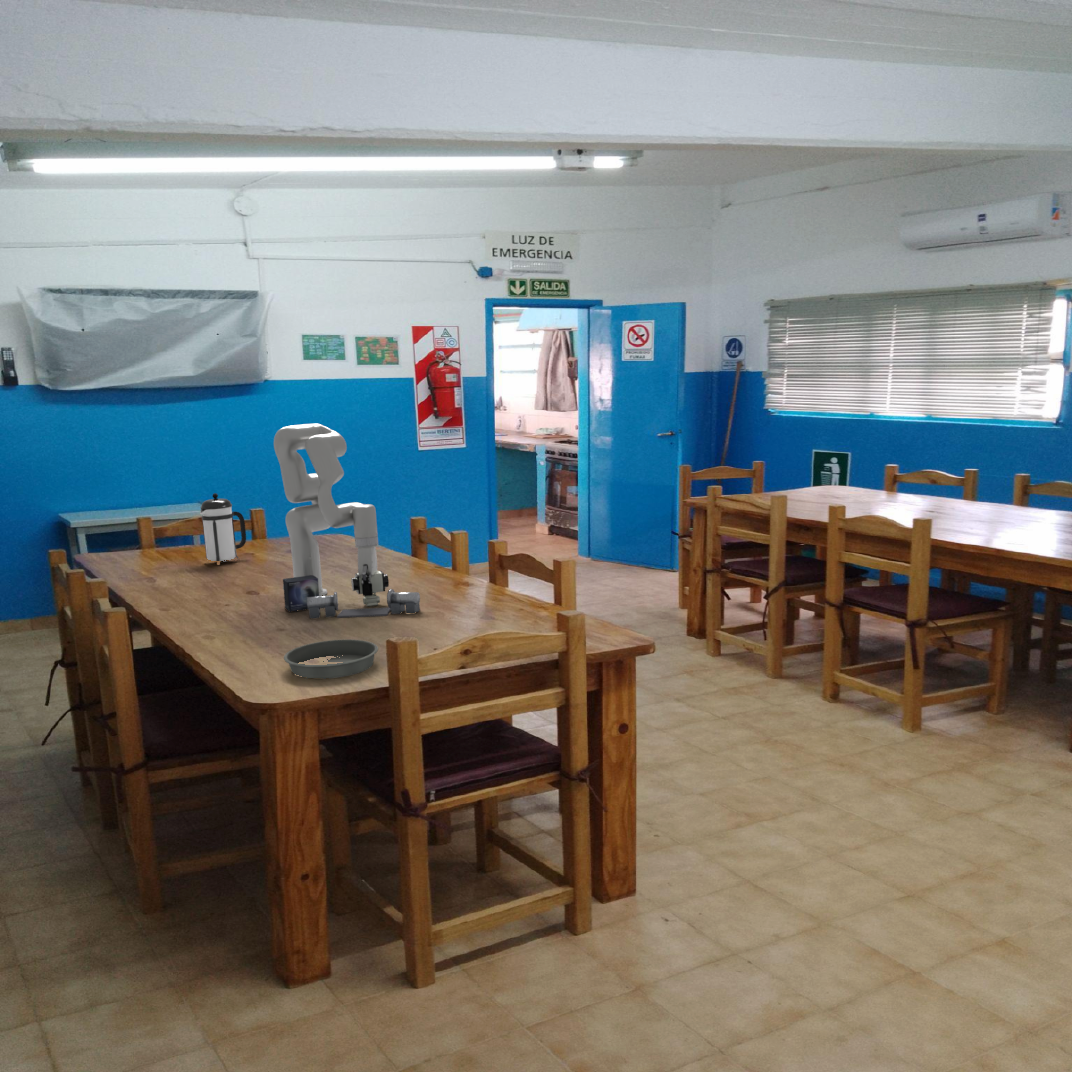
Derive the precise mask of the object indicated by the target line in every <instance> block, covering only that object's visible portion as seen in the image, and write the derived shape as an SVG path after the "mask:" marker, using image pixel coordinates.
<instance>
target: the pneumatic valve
mask: <svg viewBox="0 0 1072 1072" xmlns="http://www.w3.org/2000/svg"><path fill="white" fill-rule="evenodd" d="M368 579H369V578H368ZM389 580H390V579H389V575H388V574H387V573H384V572H383V571H382V570H377V571H376V573H375V574H374V576H372V577H371V583H372V591H373V595H372V596H363V598H362V601H363V605H365V606H366V607H367V608H368V607H369V608H370V607H374V606H375V607H376V606H378V605H379V603H380V601H381V598H380V596H379V595H377V593H383V592H386V588H389V586H390V585H389V584H390V581H389ZM350 584H351V588H352V591H353V592H356V593H357V594H358V595H363V591H362V576H360V577H359V576H358V572H357V573H355V574H354V577H351V583H350Z"/></svg>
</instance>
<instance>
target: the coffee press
mask: <svg viewBox="0 0 1072 1072" xmlns="http://www.w3.org/2000/svg"><path fill="white" fill-rule="evenodd" d="M232 506H233V504H232V503H231V501H230V500H228V499H227V498H219V494H218V493H215V492H214V493H213V494H212V498H211V499H207V500H204V501H203V502H202V503H201V506H200V511H199V514H200V516H201V521H202V529H203V538H204V539H203V541H204V548H205V559H206V558H207V559H208V560H211V561H223V562H227V561H226V560H229V561H232V560H231V559H238V558H239V557H238V554H237V549H241V548H243V547H244V546H245V545H246V542H247V532H246V522H245V518H244V515H243V514H242V513H241V512H240V511H233V510H232ZM234 517H237V518H238V519H239V520H238V521H239V525H240V534H241V537H240V538H241V540H240V542H239V543H238V544H236V536H235V528H234ZM207 559H206V560H207ZM208 560H207V561H208ZM224 560H225V561H224Z"/></svg>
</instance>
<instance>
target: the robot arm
mask: <svg viewBox="0 0 1072 1072" xmlns="http://www.w3.org/2000/svg"><path fill="white" fill-rule="evenodd" d="M347 448H348V447H347V442H346V440H345V438H344V437H343V436H342V435H341V434H340V433H339V432H337V431H336V430H333V429H331V428H329V427H327V426H325V425H323V424H320V423H303V424H294V425H288V426H287V425H286V426H283V427H282V428H280V429H278V430H277V431H276V433H275V435H274V437H273V449H274V452H275V456H276V457H277V460H278V463H279V466H280V474H281V479H282V484H283V489H284V494H285V497H286V499H287V501H288V502H290V503H292V504H300V503H307V502H311V504H309V505H301V506H298V507H297V506H296V507H294V508H292V509H290V510H289V511H287V513H286V514H285V526H286V529H287V532H288V537H289V542H290V550H291V559H292V570H293V571H292V573H293V578H294V577H301V576H309V575H314V576H315V577H317V578H318V587H319V596H322V595H323V596H327V595H328V590H327V588H323V580H322V568H321V558H320V547H319V546H320V545H319V543H318V541H317V538H316V537H315V536H314V532H320V531H325V530H327V529H329V528H334V529H339V528H345V527H351V526H353V530H354V531H353V533H354V543H355V544H354V545H355V546H354V547H355V548H356V549H357V573H358V576H359V577H360V576H362V591H363V594H362V596H363V597H364V596H372V595H373V594H374V593H373V591H372V583H371V577H372V576H374V574H375V573H376V571H378V558H377V547H379V537H378V536H379V535H378V524H377V512H376V510H377V509H376V507H375V505H373V504H371V503H370V504H369V503H367V504H366V503H361V502H357V501H356V502H355V501H353V502H347V503H341V504H336V503H335V501H334V498H333V495H332V487H333V485H335V484H337V483H338V482H340V480H341V479H342V478H343V477H344V475H345V471H344V468H343V467H342V464H341V463H340V461H339V458H340V457H343V456H345V453H346V452H347ZM298 450H305V451H306V453H307V455H308V458H309V460H310V462H311V464H312V467H313V468H314V470H315V471H314V473H313V472H312V473H308V472H307V468H306V467H307V466H306V462H305V460H304V458H303V457H302V455H301V454H300V453H298V452H297V451H298ZM368 578H369V579H368ZM282 590H283V591H284V586H283V585H282Z"/></svg>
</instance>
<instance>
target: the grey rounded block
mask: <svg viewBox="0 0 1072 1072" xmlns="http://www.w3.org/2000/svg"><path fill="white" fill-rule="evenodd" d="M420 602H421V595H420V593H419V592H417V591H416V592H415V591H414V592H413V591H407V592H405V591H404V592H403V591H402V592H399V591H398V592H396V591H395V589H392V588H391V589H389V590H388V591H387V594H386V604H387V608H388V607H389V608H391V611H390V615H401V614H402V613H404V612H405V614H406V613H415V612H417V613H419V612H420V611H421V609H420V608H421V606H420ZM419 610H420V611H419ZM403 611H404V612H403ZM401 612H402V613H401ZM400 613H401V614H400Z"/></svg>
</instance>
